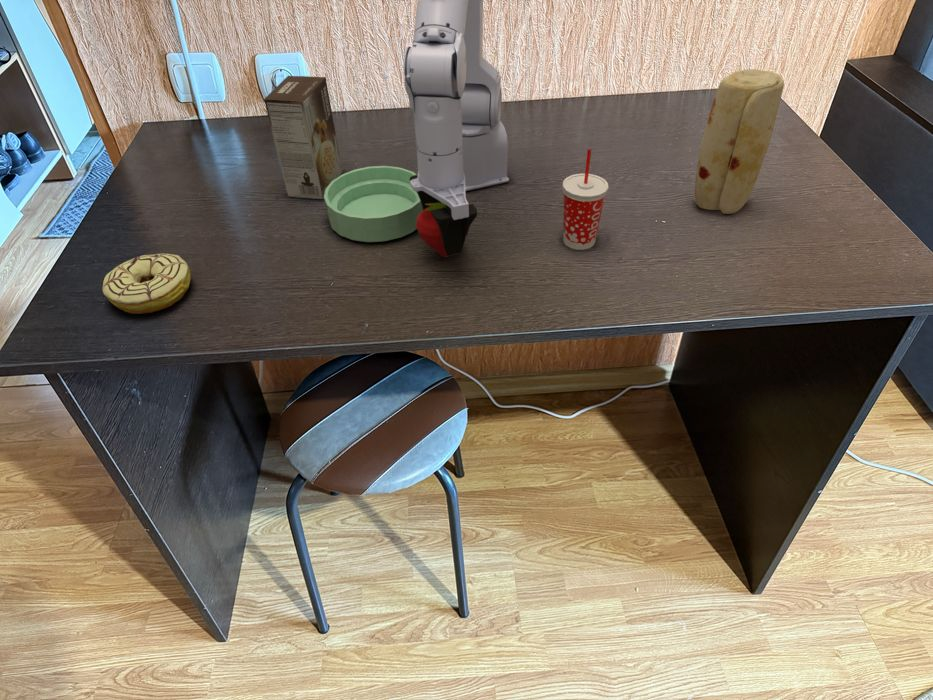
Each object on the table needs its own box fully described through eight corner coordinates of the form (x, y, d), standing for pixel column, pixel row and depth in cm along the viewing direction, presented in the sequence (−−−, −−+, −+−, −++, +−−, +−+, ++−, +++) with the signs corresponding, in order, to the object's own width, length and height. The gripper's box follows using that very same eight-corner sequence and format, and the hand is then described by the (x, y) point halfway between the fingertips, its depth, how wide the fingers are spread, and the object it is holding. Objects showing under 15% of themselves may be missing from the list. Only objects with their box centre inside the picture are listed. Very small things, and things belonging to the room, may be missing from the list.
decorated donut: (145, 264, 92) (135, 241, 89) (210, 277, 89) (202, 254, 86) (93, 309, 84) (80, 286, 82) (161, 325, 82) (150, 302, 79)
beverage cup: (573, 257, 90) (583, 165, 81) (549, 236, 94) (556, 145, 85) (609, 245, 92) (623, 153, 83) (584, 224, 96) (595, 134, 87)
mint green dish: (410, 184, 106) (408, 158, 103) (441, 231, 96) (439, 204, 93) (320, 203, 102) (315, 177, 99) (341, 254, 92) (336, 227, 89)
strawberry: (415, 247, 93) (409, 185, 86) (466, 240, 94) (465, 177, 87) (422, 271, 89) (417, 208, 82) (476, 263, 90) (475, 199, 83)
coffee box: (307, 169, 110) (287, 73, 99) (343, 172, 109) (327, 76, 98) (286, 197, 104) (262, 98, 93) (324, 200, 103) (304, 100, 92)
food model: (737, 191, 102) (776, 60, 88) (759, 213, 97) (804, 78, 84) (679, 198, 101) (709, 67, 87) (698, 221, 96) (733, 86, 82)
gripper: (391, 127, 84) (401, 217, 93) (427, 178, 74) (434, 274, 83) (443, 117, 86) (447, 207, 95) (484, 166, 76) (484, 261, 85)
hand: (444, 238), depth 89 cm, fingers open, 7 cm apart
